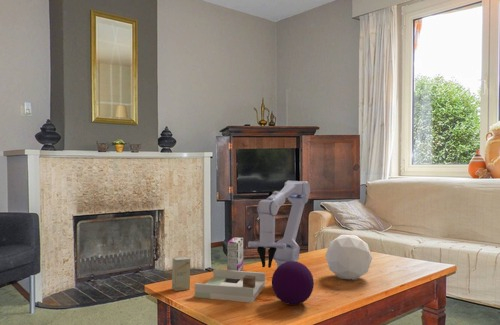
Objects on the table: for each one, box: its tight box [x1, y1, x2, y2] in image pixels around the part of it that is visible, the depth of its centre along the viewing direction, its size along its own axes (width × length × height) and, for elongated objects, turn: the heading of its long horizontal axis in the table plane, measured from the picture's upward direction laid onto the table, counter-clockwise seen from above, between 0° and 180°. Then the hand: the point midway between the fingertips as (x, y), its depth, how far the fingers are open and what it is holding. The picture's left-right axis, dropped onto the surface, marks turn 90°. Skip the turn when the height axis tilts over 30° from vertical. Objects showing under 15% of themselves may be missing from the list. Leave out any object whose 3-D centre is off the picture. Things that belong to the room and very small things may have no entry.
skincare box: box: [171, 256, 191, 292], centre depth 165 cm, size 6×4×12 cm
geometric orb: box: [325, 234, 373, 281], centre depth 183 cm, size 19×20×20 cm
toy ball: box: [271, 261, 315, 306], centre depth 149 cm, size 15×15×15 cm
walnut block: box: [243, 275, 255, 288], centre depth 162 cm, size 4×4×4 cm
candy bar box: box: [226, 236, 244, 271], centre depth 183 cm, size 11×5×16 cm, turn 168°
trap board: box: [194, 268, 266, 304], centre depth 163 cm, size 22×22×5 cm
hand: (266, 267), depth 160 cm, fingers closed
